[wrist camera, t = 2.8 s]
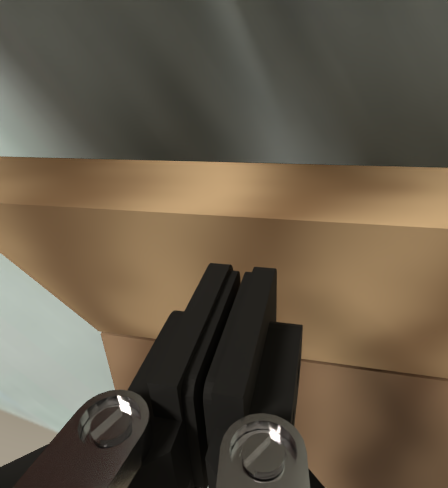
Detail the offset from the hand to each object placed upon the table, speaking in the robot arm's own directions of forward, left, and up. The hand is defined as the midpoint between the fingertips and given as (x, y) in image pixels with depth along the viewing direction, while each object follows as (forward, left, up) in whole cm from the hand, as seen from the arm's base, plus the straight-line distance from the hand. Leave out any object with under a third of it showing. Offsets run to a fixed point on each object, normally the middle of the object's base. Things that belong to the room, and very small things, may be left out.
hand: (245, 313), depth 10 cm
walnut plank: (0, +13, -9) cm, 16 cm away
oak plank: (0, +2, -6) cm, 6 cm away
